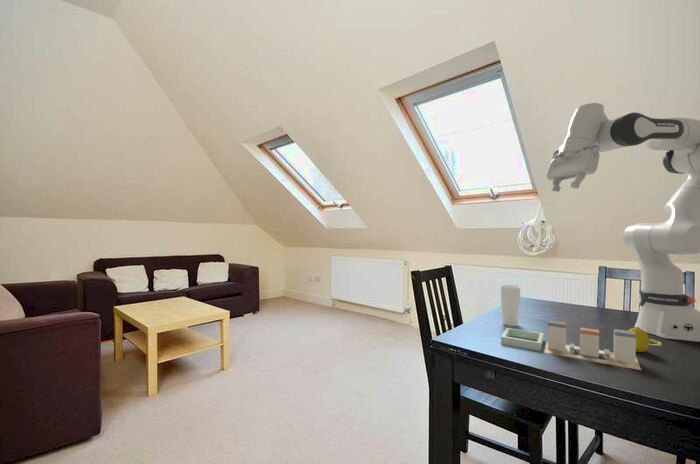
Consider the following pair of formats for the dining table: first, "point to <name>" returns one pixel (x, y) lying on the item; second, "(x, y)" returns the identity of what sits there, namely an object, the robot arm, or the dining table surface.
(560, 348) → the block
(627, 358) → the fuse
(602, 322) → the dining table surface
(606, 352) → the clip jaws
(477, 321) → the dining table surface
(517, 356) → the dining table surface
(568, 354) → the holder board
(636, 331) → the lemon
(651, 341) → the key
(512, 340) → the tray
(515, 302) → the drinking glass
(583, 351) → the marked fuse
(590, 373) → the dining table surface
